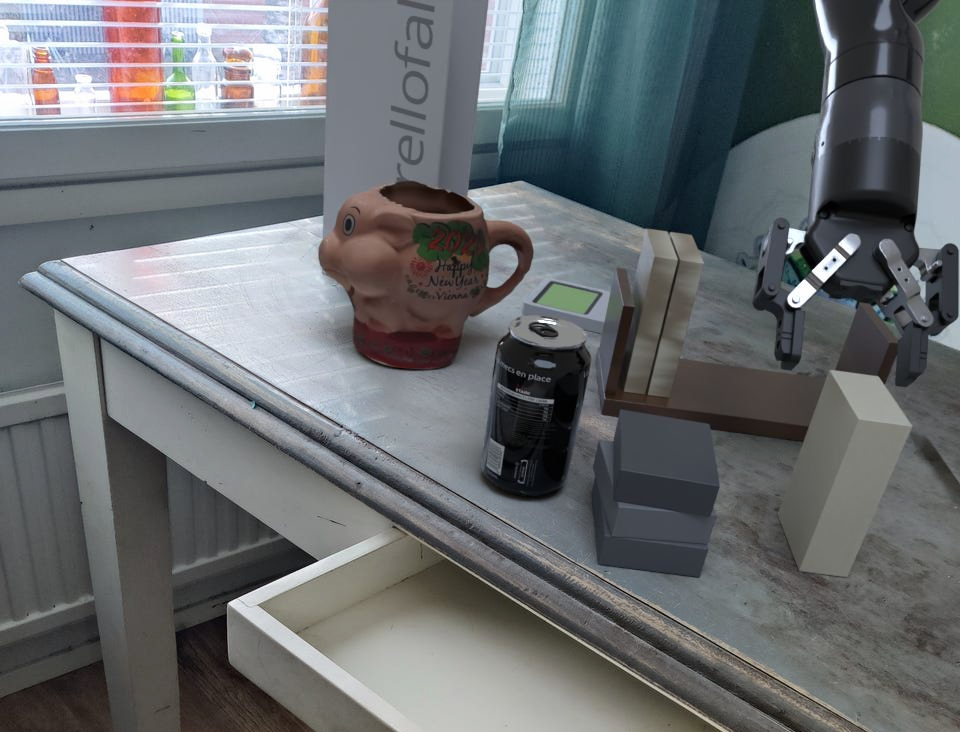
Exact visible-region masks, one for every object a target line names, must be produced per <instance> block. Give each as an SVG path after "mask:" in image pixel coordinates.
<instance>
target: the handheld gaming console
mask: <svg viewBox="0 0 960 732" xmlns="http://www.w3.org/2000/svg"><path fill="white" fill-rule="evenodd" d="M610 292H611V290H606V289H602V288H597V287H594V286H593V287H592V286H588V285H584V284H580V283H575V282H572V281H567V280H562V279H559V278H553V277H544V278H543V279H542V280H541V281H540V282H539V283H538V285H537V286H536V287H535V288H534V289H533V290H532V291H531V292H530V293H529V295H527V296H526V298H525V299H524V300H523V301H522V308H521V314H522V316H529V315H540V316H549V317H555V318H559V319H563V320H566V321H569V322H571V323H573V324H576V325H577V326H579V327H581V328H582V329H583V330H584V331H589V332H593V333H596V334H600V335H602V331H603V326H604V322H605V317H606V312H607V307H608V302H609V297H610Z"/></svg>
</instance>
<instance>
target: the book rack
mask: <svg viewBox="0 0 960 732" xmlns="http://www.w3.org/2000/svg"><path fill="white" fill-rule="evenodd" d="M639 252H640V253H639V257H638V261H637V266H636V271H635V277H634V280H633V285H632V289H631V284H630V280H629V276H628V272H627V269H626V268H620V267H615V269H614V274H613V277H612V284H611V287H610V291H611V292H610V297H609V302H608V307H607V312H606V317H605V322H604V326H603V331H602V334H601V336H600V342H599V345H598V347H597V349H596V355H595V359H594V364H595V372H596V380H597V388H598V395H599V405H600V412H601V415H605V416H612V417H619V413H620V410H627V411H633V412H639V413H645V414H651V415H657V416H664V417H670V418H676V419H682V420H688V421H694V422H700V423H706V424H710V430H716V431H717V430H718V431H724V432H731V433H739V434H747V435H754V436H760V437H767V438H777V439H784V440H792V441H798V442H804V439H805V436H806V434H807V431H808V428H809V425H810V423H811V420H812V417H813V414H814V411H815V409H816V406H817V403H818V400H819V398H820V395H821V392H822V389H823V386H824V384H825V381H826V378H824V377H818V376H810V375H803V374H795V373H789V372H788V373H787V372H783V371H782V372H781V371H775V370H768V369H767V370H766V369H759V368H753V367H745V366H737V365H731V364H724V363H716V362H708V361H700V360H694V359H687V358H681V355H682V350H683V347H684V342H685V340H686V335H687V331H688V327H689V323H690V319H691V316H692V312H693V307H694V305H695V300H696V296H697V292H698V290H699V289H698V288H699V285H700V282H701V276H702V273H703V270H704V266H705V262H704V260H703V257H702V255H701V253H700V251H699V248H698V246H697V244H696V241H695V239H694V237H693V234H688V233H680V232H674V231H670V232H668V231H667V230H658V229H652V228H645V229H644V234H643V238H642V243H641V247H640V251H639ZM898 340H899V339H898V338H897V337H896V335H895V334H894V332H893V331H892V330H891V329H890V327H889V326H888V325H887V324H886V322H885V321H884V320H883V318H882V317H881V316H880V315H879V313H878V312H877V311H876V309H875V308H874V307H873V306H872V305H871V303H870V304H868V303H861V302H858V305H857V308H856V311H855V314H854V317H853V320H852V321H851V324H850V328H849V330H848V333H847V335H846V339H845V341H844V344H843V347H842V349H841V352H840V355H839V358H838V360H837V363H836V365H835V368H834V370H835V371H843V372H850V373H857V374H864V375H872V376H878V377H879V378H880V379H881V381H882V382H883V384H884V385H885V386H886V383H887V381H888V378H889V376H890V374H891V371H892V369H893V366H894V364H895V361H896V359H897V348H898Z"/></svg>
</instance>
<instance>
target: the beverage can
mask: <svg viewBox="0 0 960 732" xmlns="http://www.w3.org/2000/svg"><path fill="white" fill-rule="evenodd" d="M587 340H588V335H587V332H586V330H584V329H582V328H581V327H579V326H577V325H576V324H573V323H571V322H569V321H566V320H563V319H559V318H555V317H549V316H540V315H529V316H526V315H521V316H518V317H515V318H513V319H511V320H510V321H509V323H508V332H507V333H506V334H504V335H503V336H502V337H501V338H500V339H499V340H498V342H497V345H496V350H495V355H494V363H493V369H492V377H491V384H490V391H489V398H488V404H487V405H488V406H487V413H486V419H485V420H486V421H485V427H484V435H483V442H482V450H481V457H480V468H481V471H482V473H483V474H484V476H485V477H486V478H487V479H488V480H489V481H490V482H492V484H494V485H495V486H496V487H498V488H499V489H501V490H502V491H504V492H507V493H509V494H512V495H514V496H515V495H516V496H520V497H538V496H543V495H545V494H548V493H551V492H554V491H556V490H558V489H559V488H561V487H562V486H563V485H565V483H566V482H567V480H568V476H569V472H570V469H571V468H570V467H571V463H572V459H573V455H574V449H575V445H576V441H577V440H576V439H577V435H578V430H579V425H580V420H581V414H582V412H583V411H582V410H583V405H584V400H585V395H586V390H587V386H588V381H589V376H590V371H591V365H592V355H591V353H590V351H589V349H588V348H587V345H586V343H587Z"/></svg>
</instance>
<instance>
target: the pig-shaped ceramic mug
mask: <svg viewBox="0 0 960 732" xmlns="http://www.w3.org/2000/svg"><path fill="white" fill-rule="evenodd" d="M503 245H506V246H509V247H511V248H512V249H513V250H514V252H515V253H516V257H517V266H516V269H514V270H515V271H514V272H513V273H512V274H511V275H510V276H509V277H508V278H507V279H506V280H505V281H504V282H503V283H502V284H501V285H499V286H496V287H492V286H491V287H490V286H488V283H489V274H490V262H491V261H490V253H491V251H492V250H493V249H495V247H497V246H503ZM317 252H318V254H317V255H318V256H317V258H318V262H319V266H320V267H321V270H322V269H323V270H324V271H325V272H326V273H327V274H328V275H329V277H330V278H331V279H332V280H334V281H335V282H336V283H337V284H339V285H340V286H341V287H342V288H343V289H344V291H345V292H346V294H347V296H348V298H349V301H350V303H351V307H352V309H353V322H352V323H353V325H352V342H353V344H354V347H355V348H356V349H357V350H358V351H359V352H360V353H361V354H363V355H364V356H365V357H367V358H369V359H371V360H372V361H374V362H376V363H379V364H382V365H385V366H388V367H393V368H401V369H412V370H413V369H414V370H430V369H439V368H442V367H444V366H445V367H446V366H447V365H449V364H451V363H452V362H453V361H454V359H455V358H456V357H457V354H458V352H459V350H460V345H461V341H462V338H463V337H462V336H463V331H464V326H465V324H466V322H467V320H468V318H469V317H470V318H475V317H477V316H479V315H480V314H482V313H484V312H486V311H487V310H489V309H491V308H492V307H494V306H496V305H498V304H499V303H501V302H502V301H503V300H504V299H505V298H507V297H508V296H509V295H511V293H513V291H514V290H515V289H516V288H517V286H519V284H520V283H522V281H524V278H525V276H526V274H528V272H530V270H531V267H532V264H533V263H532V262H533V259H534V254H535V253H534V246H533V241H532V239H531V237H530V235H529V234H528V233H527V231H526V230H525V229H523V228H522V227H521V226H519V225H517V224H516V223H513V222H510V221H507V220H500V219H499V220H496V219H495V220H490V219H486V218H485V214H484V210H483V208H482V206H481V205H480V204H478V203H476V202H475V201H474V200H473V199H472V198H470V197H469V196H464V195H460V194H457V193H454V192H452V191H450V190H446V189H442V188H437V187H432V186H428V185H425V184H421V183H418V182H416V181H402V182H396V183H390V184H385V185H379V186H375V187H373V188H371V189H370V190H368V191H365V192H361V193H358V194H355V195H353V196H351V197H349V198H348V199H347V200H346V201H345V202H344V204H343V205H342V207H341V209H340V210H339V212H338V215H337V219H336V224H335V227H334V228H333V230H332V231H331V232H330V233H329V234H328V235H327V236H326V237H325V238H324V239H323V238H322V240H321V241H320V243H319V246H318V251H317ZM328 275H327V276H328Z"/></svg>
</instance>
